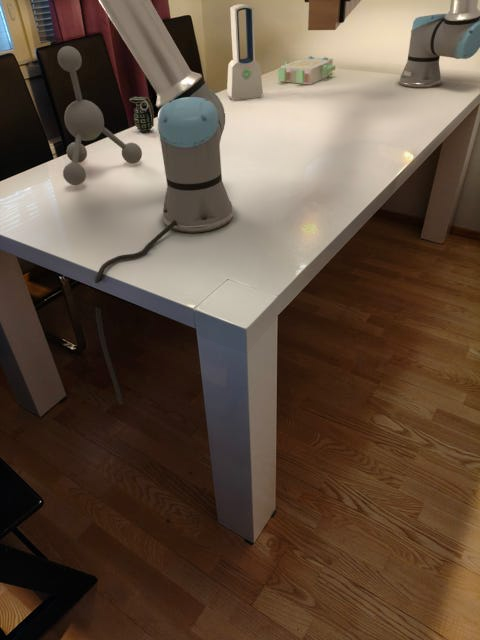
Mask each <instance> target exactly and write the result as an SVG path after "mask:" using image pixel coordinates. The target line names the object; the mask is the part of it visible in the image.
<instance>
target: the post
mask: <svg viewBox="0 0 480 640" xmlns="http://www.w3.org/2000/svg"><path fill="white" fill-rule="evenodd" d="M340 1H341V0H309V2H308V18H307V19H308V20H307V21H308V22H307V31H336V30H337V29H338V28H339V26H340V25H341V24H342V23H339V16H340ZM361 1H362V0H351V1H346V8H345V19H347V17H349V15H350V14H352V12H353V10H355V8H356V7H357V6H358V5H359V4H360V3H361Z"/></svg>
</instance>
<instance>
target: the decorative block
mask: <svg viewBox="0 0 480 640" xmlns="http://www.w3.org/2000/svg"><path fill="white" fill-rule="evenodd" d="M333 61H334V59H333V58H328V57H313V56H312V55H311V56H308V57H306V58H303V59H302V58H299V59H297V60H295V61H292V62H289V61H285V62H284V63H283V65H280V67H279V68H278V69H277V70H278V71H277V73H278V74H277V76H278V77H277V79H278V82H285V83H286V82H287V83H292V84H293V83H296V84H304V85H312V84H315V83H317V82H319V81H321V80H324V79H326V78H328V77H330V75H332V74H333V71H336V65H333Z"/></svg>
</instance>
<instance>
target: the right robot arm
mask: <svg viewBox="0 0 480 640" xmlns="http://www.w3.org/2000/svg"><path fill="white" fill-rule="evenodd" d="M478 4H479V0H450V7H449V11H448V12H447V13H437V14H429V15H421V16H418V17H416V18H415V19H414V20H413V22H412V27H411V30H410V37H409V39H410V40H409V47H408V54H407V60H406V63H405V65H404V68H403V70H402V72H401V75H400V77H399V84H400V85H401V86H404V87H409V88H434V87H437V86H439V85H440V84H441V80H442V76H441V69H440V68H441V67H440V57H445V58H450V59H451V58H452V59H455V60H467V59H470V58H472V57H473V56H474V55H476V53H477V52H478V51H479V49H480V10H479V8H478Z"/></svg>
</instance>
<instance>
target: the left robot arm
mask: <svg viewBox="0 0 480 640" xmlns="http://www.w3.org/2000/svg"><path fill="white" fill-rule="evenodd" d="M303 1H304V3H309V0H303ZM346 1H351V0H341V1H340V16H339V23H341V24H343V23H344V22H345V20H346V18H345V8H346ZM98 2H99V4H100V5H101V7H102V8H103V10H104V12H105V13H106V15H107V16H108V18H109V20H110V21H111V23H112V24H113V26H114V27H115V29H116V30H117V32H118V35H119V36H120V37H121V38H122V40H123V42H124V43H125V45H126V46H127V48H128V50H129V51H130V53H131V54H132V56H133V57H134V59H135V61H136V62H137V64H138V65H139V68H140V69H141V70H142V72H143V73H144V75H145V77H146V78H147V80H148V82H149V84H150V85H151V86H152V88H153V90H154V91H155V93H156V96H157V97H156V103H155V106H156V107H157V109H158V113H157V130H158V135H159V139H160V147H161V153H162V159H163V168H164V174H165V180H166V190H165V191H166V192H165V196H164V203H163V207H162V218H163V222H164V224H165V228H164V229H163V230H161V231H160V232H159V233H158V234H157V235H156V236H155V237H153V238H152V239H151V240H150V241H149V242H148V243H147V244H146V245H145V247H144V248H143V249H142V250H140V251H138V252H135V253H129V254H121V255H118V256H115V257H113V258H111V259H108V260H107V261H105V262H104V263H103V264H101V266H100V268H99V270H98V272H97V274H96V276H95V279H94V283H95V284H99V283H100V282H101V280H102V277H103V274H104V272H105V271H106V269H107V268H108V267H109V266H111V265H113V264H115V263H117V262H119V261H123V260H131V259H136V258H140V257H142V256H144V255H145V254H147V252H148V251H149V250H150V248H152V246H153V245H155V244H156V243H157V242H158V241H159V240H160V239H162V237H163V236H165V235H166V234H167V233H168V232H169V231H170V230H173V231H177V232H180V233H190V234H191V233H192V234H193V233H194V234H195V233H196V234H197V233H205V232H206V233H207V232H210V231H215V230H216V229H220V228H222V227H224V226H226V225H227V224H228V223H230V221H231V220H232V218H233V216H234V212H233V211H234V210H233V205H232V201H231V200H230V197H229V195H228V192H227V190H226V187H225V184H224V182H223V175H222V174H223V173H222V161H221V147H220V146H221V140H222V136H223V133H224V130H225V125H226V113H225V108H224V105H223V103H222V101H221V99H220V97H219V96H218V95H217V94H216V93H215V92H214V91H212V90H211V89H210V87H209V86H208V84H207V82H206V80H205V78H204V77H203V75H202V73H198V72H195V71H192V70H191V69H190V67H189V65H188V63H187V62H186V60H185V58H184V57H183V55H182V54H181V51H180V50H179V48H178V46H177V45H176V43H175V40H173V37H172V36H171V34H170V32H169V31H168V29H167V27H166V25H165V23H164V22H163V20H162V18H161V16H160V15H159V14H158V11H157V10H156V8H155V6H154V4H153V2H152V1H151V0H98ZM94 308H95V316H96V317H95V318H96V324H97V331H98V336H99V340H100V344H101V348H102V353H103V355H104V359H105V362H106V365H107V368H108V372H109V374H110V378H111V380H112V381H111V382H112V383H113V386H114V391H115V395H116V399H117V401H118V404H119V405H120V406H122V405H123V404H124V401H123V397H122V393H121V390H120V389H121V388H120V386H119V383H118V380H117V376H116V373H115V370H114V367H113V364H112V360H111V357H110V354H109V350H108V347H107V342H106V337H105V332H104V327H103V321H102V313H101V308H100V307H97V306H95V307H94Z"/></svg>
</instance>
